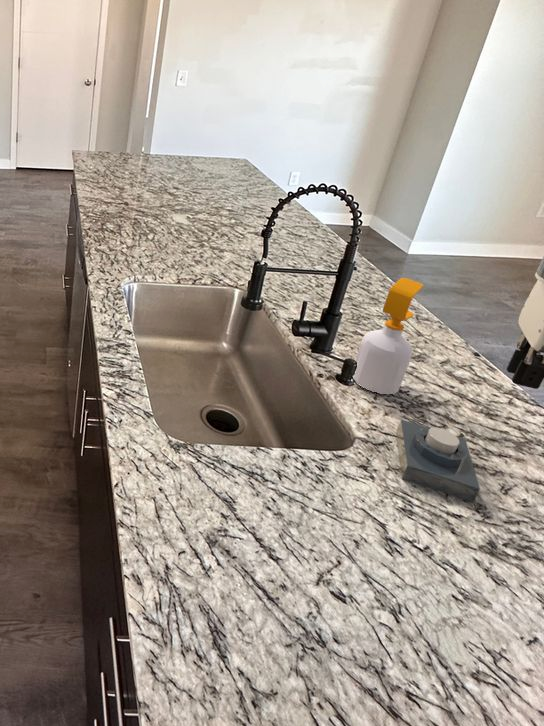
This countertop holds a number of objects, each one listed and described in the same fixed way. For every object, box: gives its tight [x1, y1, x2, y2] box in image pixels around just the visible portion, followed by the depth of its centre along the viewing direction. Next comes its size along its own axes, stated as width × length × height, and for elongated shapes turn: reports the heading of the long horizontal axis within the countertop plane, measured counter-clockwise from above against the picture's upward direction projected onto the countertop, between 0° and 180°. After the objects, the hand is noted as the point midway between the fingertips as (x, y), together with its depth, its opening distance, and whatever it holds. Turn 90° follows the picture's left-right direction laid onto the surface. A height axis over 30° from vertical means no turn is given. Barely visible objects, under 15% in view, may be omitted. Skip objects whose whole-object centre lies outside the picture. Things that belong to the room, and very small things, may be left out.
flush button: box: [425, 427, 460, 454], centre depth 93 cm, size 4×4×2 cm
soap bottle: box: [354, 277, 424, 395], centre depth 111 cm, size 9×9×25 cm
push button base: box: [395, 418, 481, 504], centre depth 94 cm, size 10×13×5 cm
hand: (521, 378), depth 84 cm, fingers closed
